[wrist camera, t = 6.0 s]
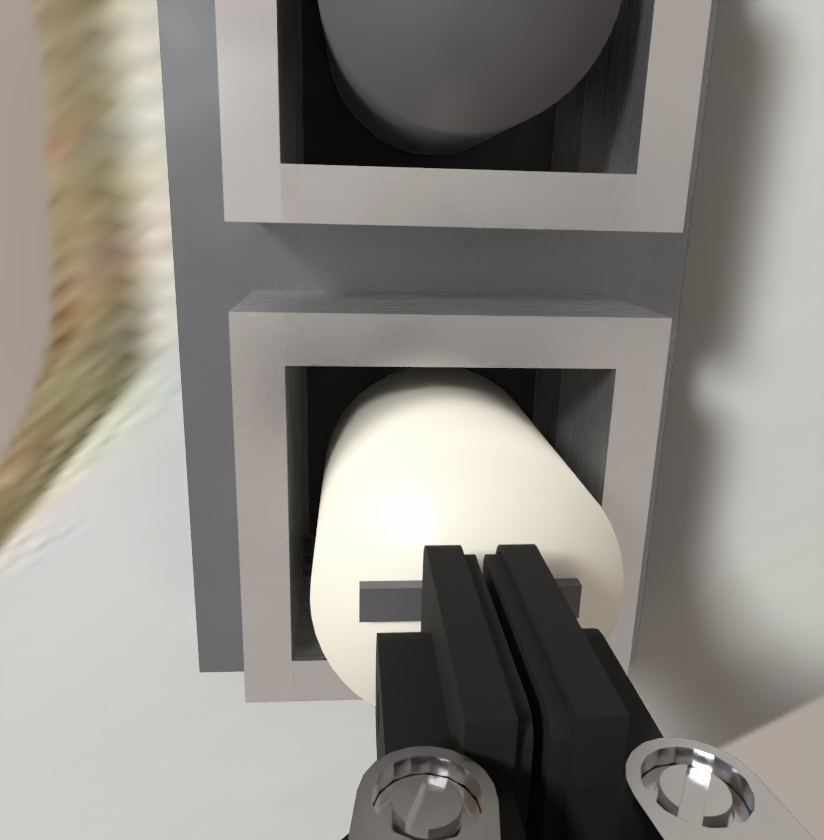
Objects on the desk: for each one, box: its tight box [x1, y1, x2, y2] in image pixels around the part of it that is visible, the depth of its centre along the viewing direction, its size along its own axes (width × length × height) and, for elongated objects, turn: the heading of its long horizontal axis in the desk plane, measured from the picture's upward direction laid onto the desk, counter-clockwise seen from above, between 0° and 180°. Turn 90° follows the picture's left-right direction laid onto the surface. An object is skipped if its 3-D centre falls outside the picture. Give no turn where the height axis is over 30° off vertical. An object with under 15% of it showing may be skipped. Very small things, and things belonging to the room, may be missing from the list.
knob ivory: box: [310, 367, 624, 708], centre depth 15 cm, size 5×5×6 cm
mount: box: [157, 0, 719, 703], centre depth 17 cm, size 12×22×6 cm, turn 179°
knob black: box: [318, 0, 622, 155], centre depth 15 cm, size 5×5×6 cm
